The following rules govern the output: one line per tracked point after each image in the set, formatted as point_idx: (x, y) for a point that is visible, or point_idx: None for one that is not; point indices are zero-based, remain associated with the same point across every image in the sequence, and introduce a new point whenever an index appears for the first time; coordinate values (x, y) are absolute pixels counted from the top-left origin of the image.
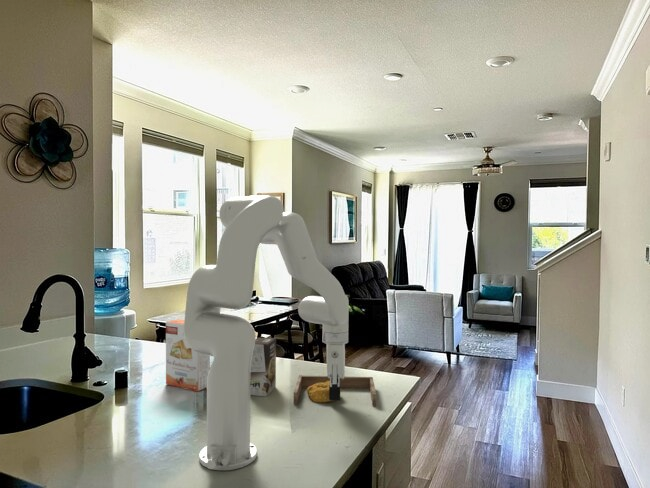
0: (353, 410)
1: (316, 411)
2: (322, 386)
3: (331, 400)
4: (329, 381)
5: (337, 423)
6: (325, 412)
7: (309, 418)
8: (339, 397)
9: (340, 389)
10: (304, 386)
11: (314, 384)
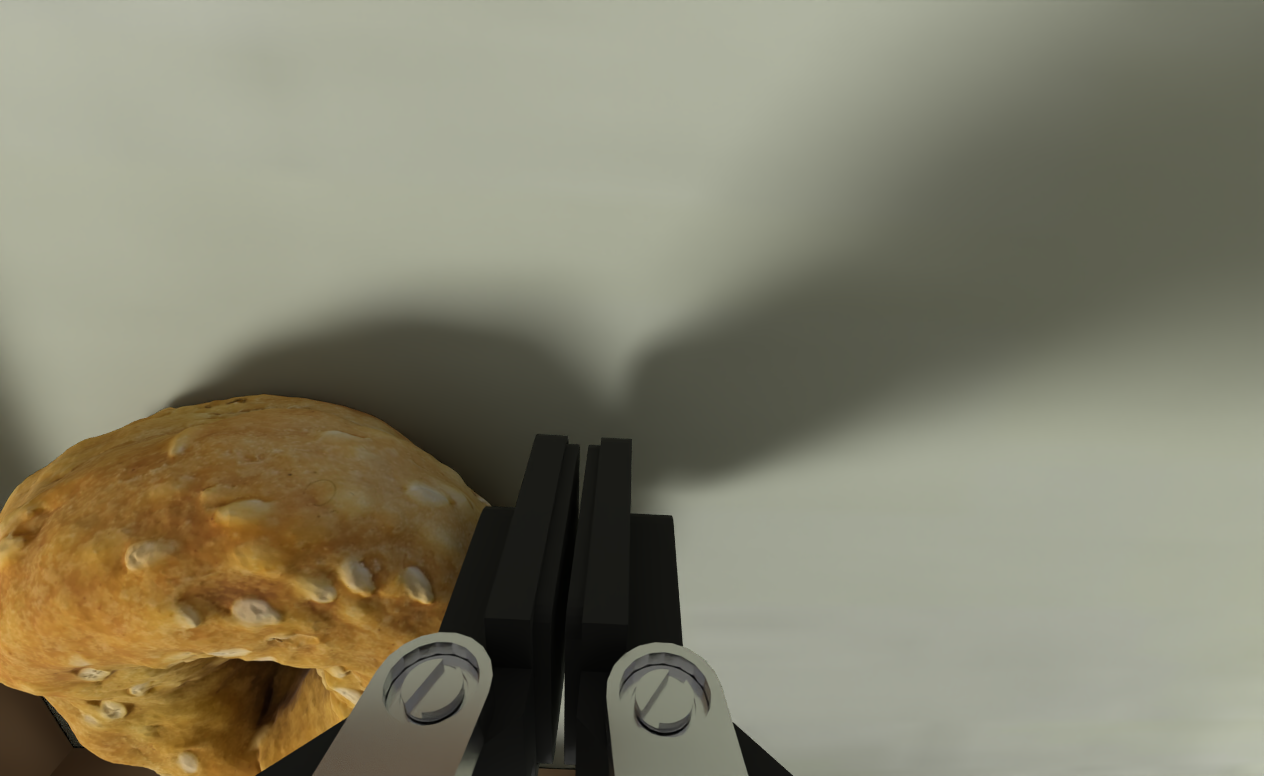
0: (841, 188)
1: (805, 634)
2: (184, 685)
3: (483, 500)
4: (37, 674)
5: (1251, 445)
6: (852, 557)
7: (986, 686)
8: (627, 469)
9: (235, 449)
10: (54, 736)
11: (164, 773)
